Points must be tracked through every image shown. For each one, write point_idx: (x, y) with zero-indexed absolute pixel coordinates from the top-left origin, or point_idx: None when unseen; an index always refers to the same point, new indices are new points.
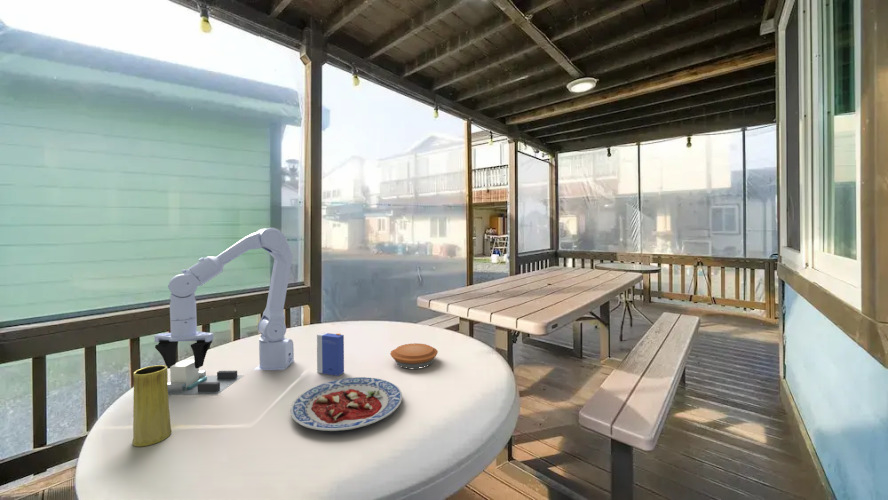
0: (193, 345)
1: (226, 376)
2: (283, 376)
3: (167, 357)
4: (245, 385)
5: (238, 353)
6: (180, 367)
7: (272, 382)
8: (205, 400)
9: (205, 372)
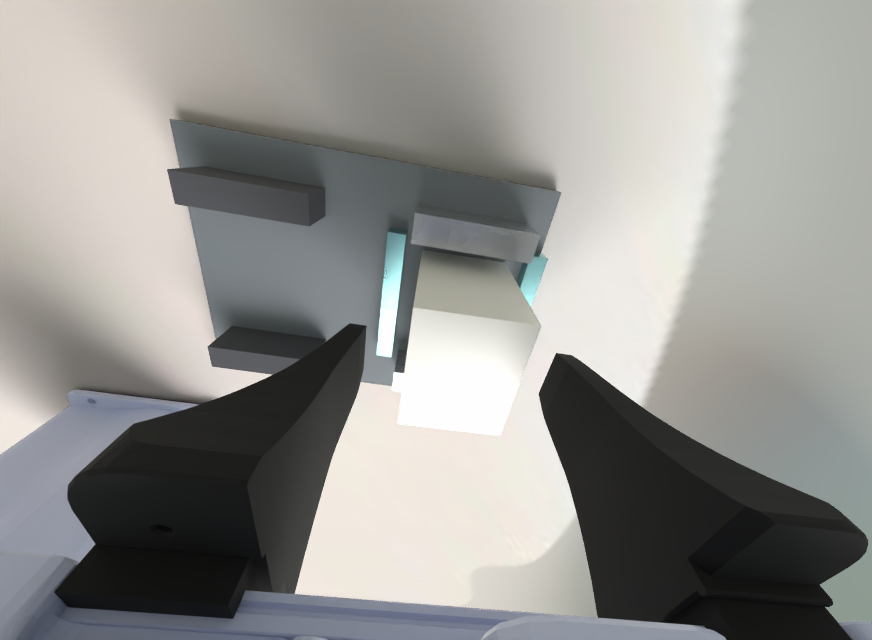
0: (191, 462)
1: (269, 339)
2: (24, 335)
3: (604, 411)
4: (137, 259)
5: (410, 552)
6: (454, 309)
7: (12, 272)
8: (215, 68)
9: (393, 383)
